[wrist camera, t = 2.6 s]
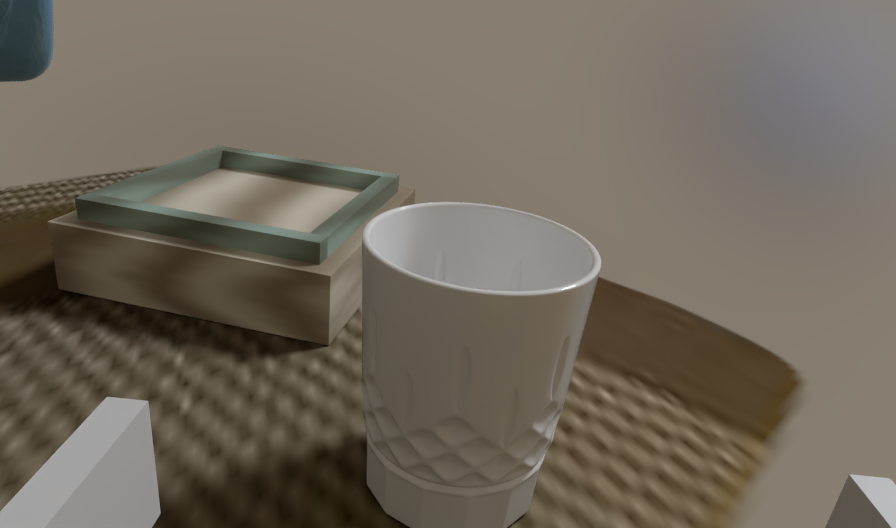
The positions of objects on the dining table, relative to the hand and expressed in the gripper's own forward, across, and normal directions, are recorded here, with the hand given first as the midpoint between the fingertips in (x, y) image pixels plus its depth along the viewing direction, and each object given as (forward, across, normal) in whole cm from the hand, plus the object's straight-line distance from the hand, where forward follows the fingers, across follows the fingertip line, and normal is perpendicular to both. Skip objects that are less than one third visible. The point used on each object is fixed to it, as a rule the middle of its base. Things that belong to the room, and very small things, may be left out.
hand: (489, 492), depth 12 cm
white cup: (+10, 0, -9) cm, 13 cm away
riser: (+28, -13, -8) cm, 32 cm away
